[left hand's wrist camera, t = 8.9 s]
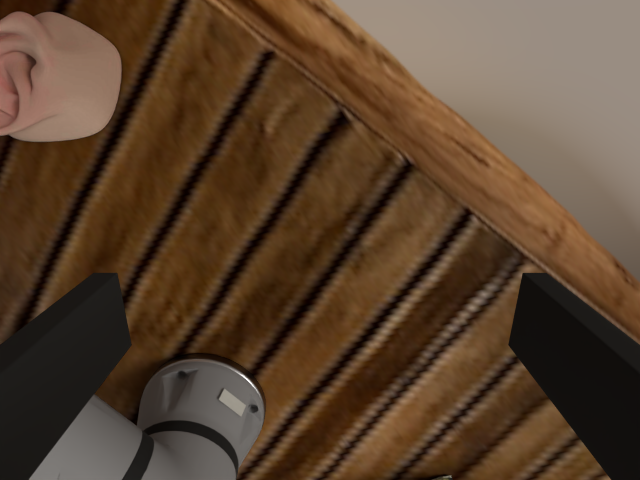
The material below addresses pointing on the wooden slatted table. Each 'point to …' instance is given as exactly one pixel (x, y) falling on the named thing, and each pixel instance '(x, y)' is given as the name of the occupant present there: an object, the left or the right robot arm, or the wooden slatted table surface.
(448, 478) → the fossil
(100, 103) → the anatomical model
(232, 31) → the wooden slatted table surface
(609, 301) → the wooden slatted table surface
